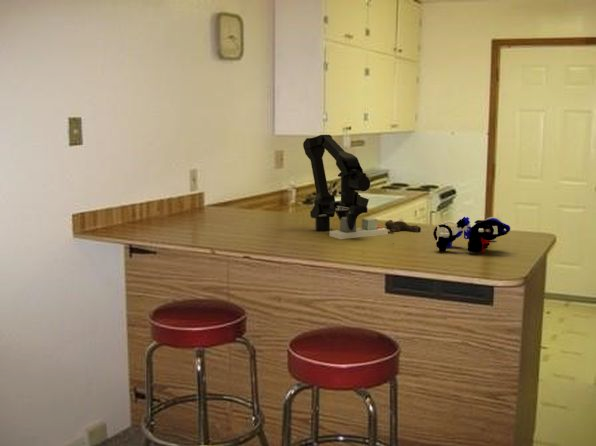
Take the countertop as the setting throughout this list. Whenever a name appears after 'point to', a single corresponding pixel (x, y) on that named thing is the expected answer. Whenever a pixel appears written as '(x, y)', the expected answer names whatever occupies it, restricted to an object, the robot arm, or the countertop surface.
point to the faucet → (401, 227)
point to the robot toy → (470, 233)
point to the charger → (346, 225)
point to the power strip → (358, 233)
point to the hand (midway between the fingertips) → (348, 229)
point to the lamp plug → (369, 224)
